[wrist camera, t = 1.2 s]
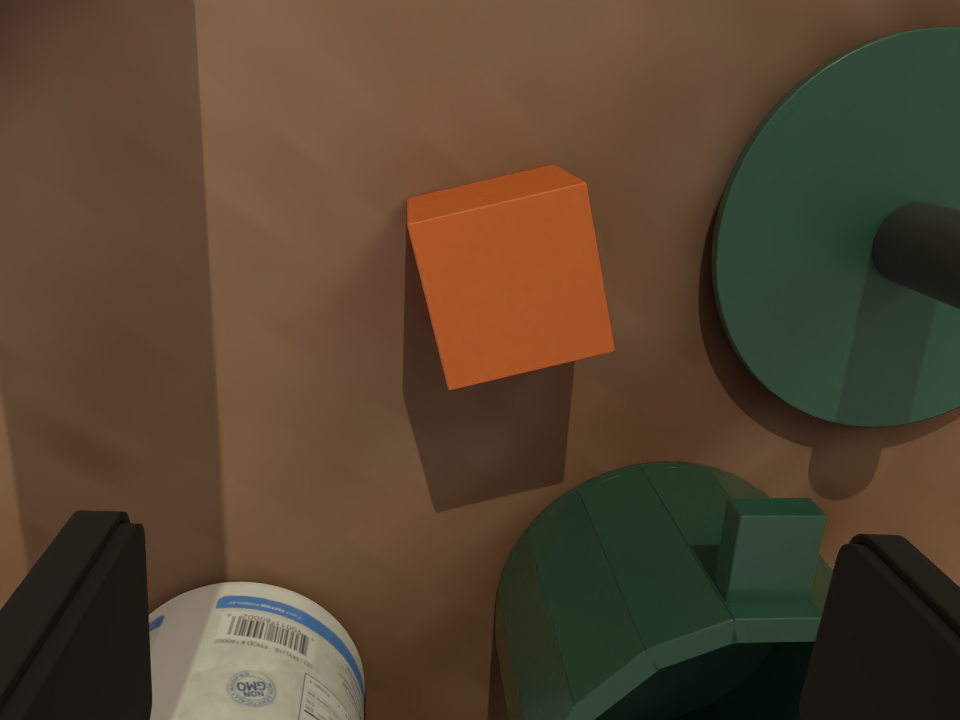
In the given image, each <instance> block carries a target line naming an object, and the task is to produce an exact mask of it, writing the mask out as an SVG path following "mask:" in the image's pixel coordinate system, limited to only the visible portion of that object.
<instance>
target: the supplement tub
mask: <svg viewBox="0 0 960 720" xmlns="http://www.w3.org/2000/svg"><path fill="white" fill-rule="evenodd" d="M149 635H150V656H151V677H152V710H151V716H150V720H364V695H365V680H364V671H363V666H362V662H361V658H360V656H359V653H358V651H357V649H356V647H355V644H354V643H353V641H352V639H351V638H350V636H349V635H348V633H347V631H346V630H345V629H344V628H343V626H342V625H341V624H340V623H339V622H338V621H337V620H336V619H335V618H334V617H333V616H332V615H331V614H330V613H329V612H328V611H326V610H325V609H324V608H323V607H321V606H320V605H318V604H317V603H315V602H314V601H312V600H310V599H308V598H306V597H305V596H303V595H300V594H298V593H296V592H293V591H291V590H288V589H285V588H281V587H278V586H273V585H268V584H263V583H255V582H225V583H218V584H212V585H207V586H203V587H200V588H196V589H193V590H191V591H188V592H185V593H182V594H180V595H178V596H177V597H175V598H173V599H171V600H169V601H167V602H166V603H164V604H163V605H161V606H160V607H158V608H157V609H156V610H154V611H153V612H152V613H151V614H149Z"/></svg>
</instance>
